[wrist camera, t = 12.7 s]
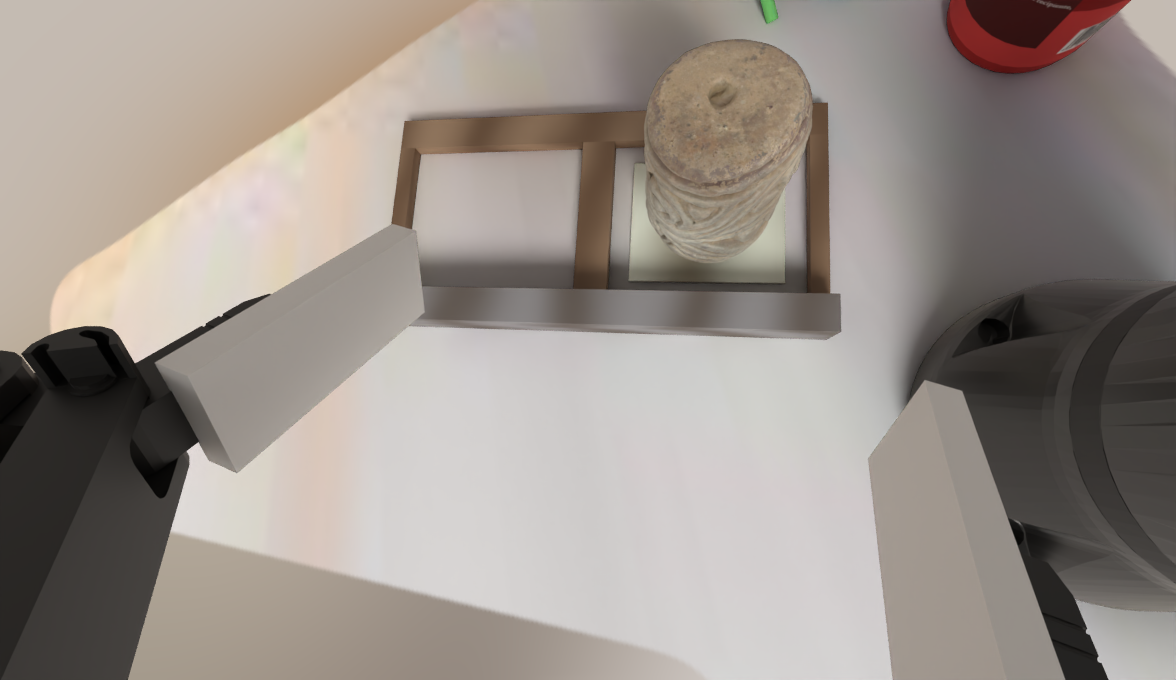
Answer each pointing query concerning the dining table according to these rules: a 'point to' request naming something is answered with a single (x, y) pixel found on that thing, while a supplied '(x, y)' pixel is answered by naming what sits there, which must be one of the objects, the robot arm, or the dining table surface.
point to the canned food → (1025, 30)
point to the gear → (769, 10)
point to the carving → (723, 145)
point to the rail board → (648, 253)
